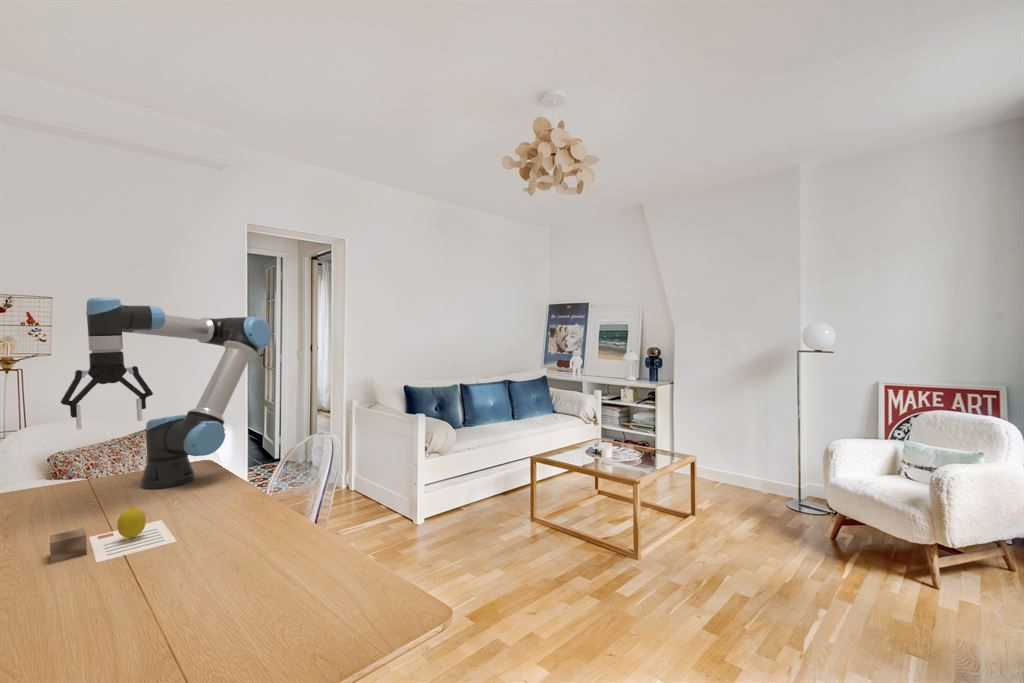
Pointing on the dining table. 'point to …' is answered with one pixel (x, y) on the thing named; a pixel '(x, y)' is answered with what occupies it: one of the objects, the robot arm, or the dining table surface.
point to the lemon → (131, 523)
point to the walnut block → (68, 545)
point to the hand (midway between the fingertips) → (110, 424)
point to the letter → (130, 541)
